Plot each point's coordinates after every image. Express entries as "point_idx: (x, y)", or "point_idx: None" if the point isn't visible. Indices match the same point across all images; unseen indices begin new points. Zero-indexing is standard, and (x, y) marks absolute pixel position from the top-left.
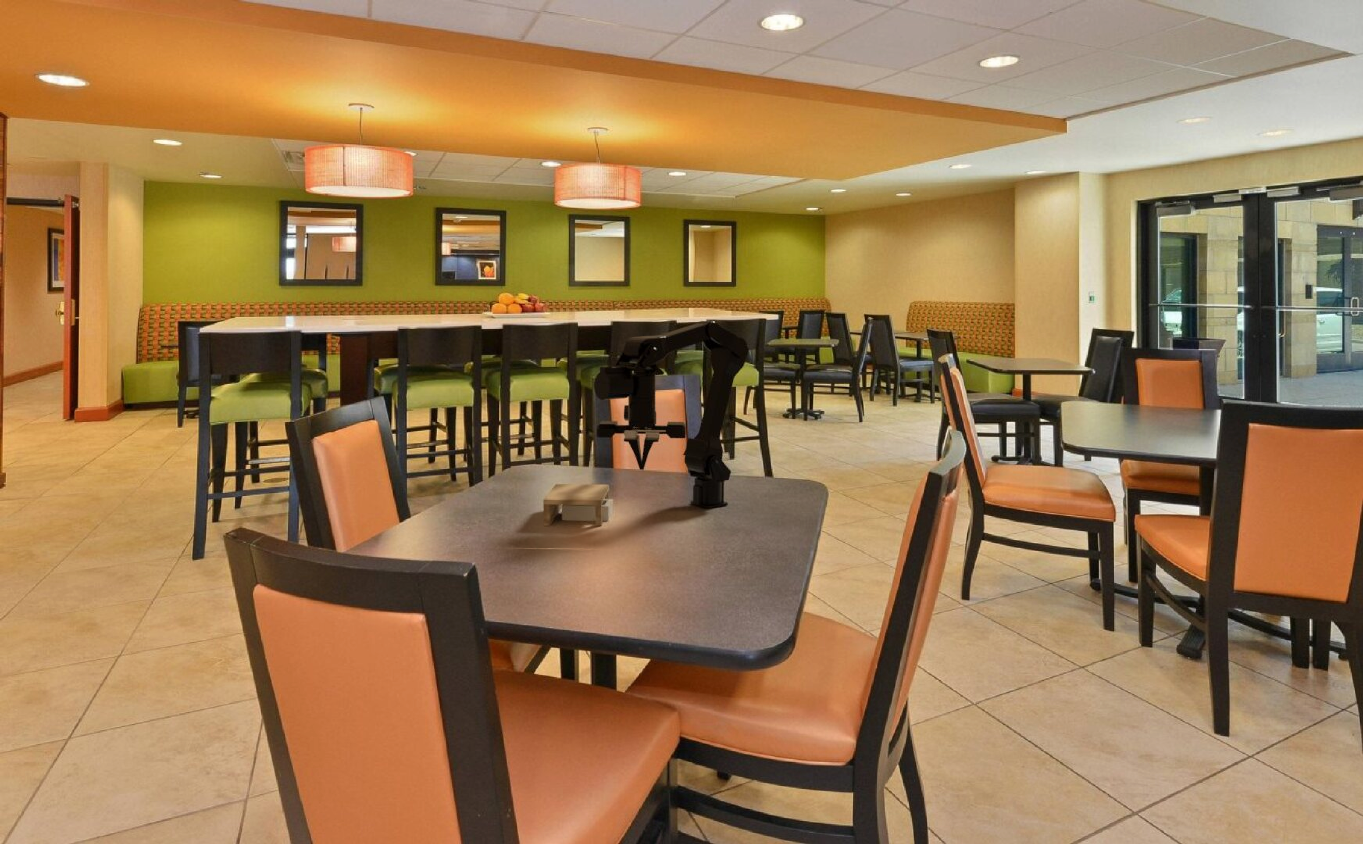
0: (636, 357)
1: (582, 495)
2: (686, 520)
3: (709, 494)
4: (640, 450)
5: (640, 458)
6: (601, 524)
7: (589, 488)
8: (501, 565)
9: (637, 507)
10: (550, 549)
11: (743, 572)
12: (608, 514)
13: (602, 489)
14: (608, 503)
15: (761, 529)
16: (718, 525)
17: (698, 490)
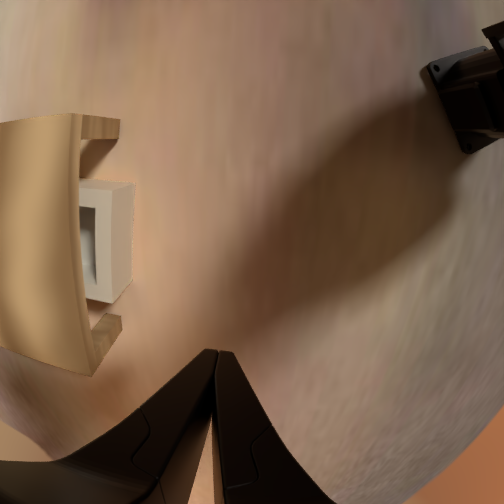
0: None
1: (21, 308)
2: (382, 280)
3: (500, 136)
4: (181, 455)
5: (199, 460)
6: (120, 331)
7: (13, 196)
8: (55, 454)
9: (226, 87)
10: (79, 429)
11: (364, 500)
12: (123, 289)
13: (54, 216)
14: (105, 262)
15: (496, 351)
16: (442, 328)
17: (481, 125)
